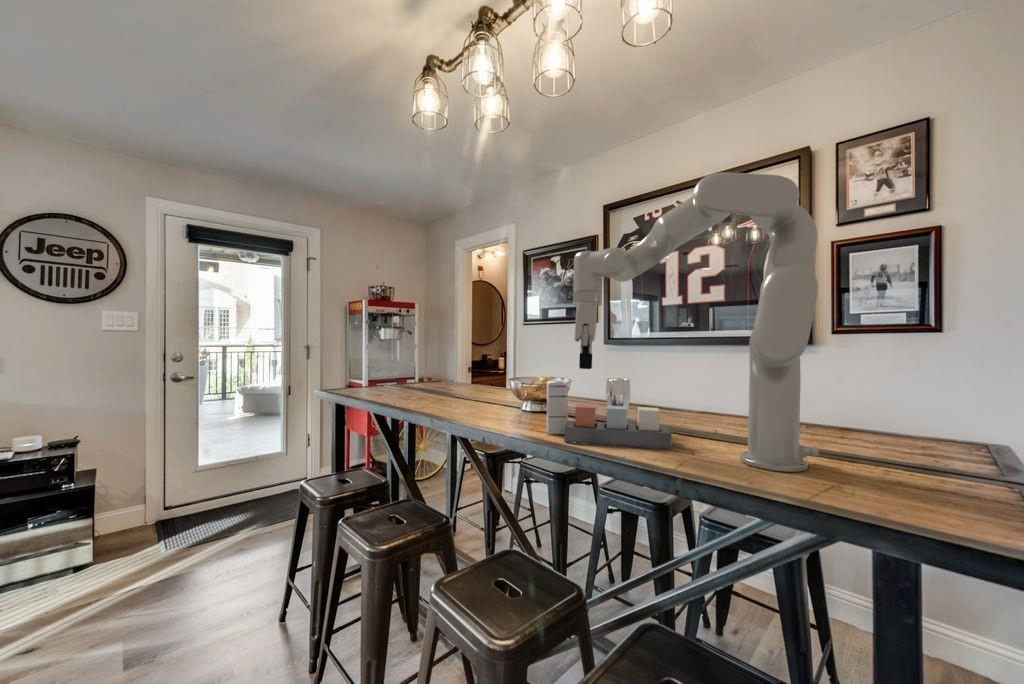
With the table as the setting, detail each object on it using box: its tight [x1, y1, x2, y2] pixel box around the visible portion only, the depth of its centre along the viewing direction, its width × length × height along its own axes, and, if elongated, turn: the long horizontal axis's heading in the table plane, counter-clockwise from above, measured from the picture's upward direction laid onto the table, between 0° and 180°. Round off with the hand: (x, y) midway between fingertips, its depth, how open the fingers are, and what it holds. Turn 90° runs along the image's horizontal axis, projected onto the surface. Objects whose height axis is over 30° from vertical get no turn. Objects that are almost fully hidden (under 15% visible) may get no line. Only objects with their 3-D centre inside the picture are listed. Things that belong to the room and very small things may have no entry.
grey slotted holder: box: [563, 420, 672, 451], centre depth 112 cm, size 9×26×4 cm, turn 77°
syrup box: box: [546, 380, 569, 435], centre depth 122 cm, size 6×6×14 cm
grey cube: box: [605, 405, 628, 429], centre depth 112 cm, size 5×5×5 cm
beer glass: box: [605, 377, 631, 415], centre depth 126 cm, size 7×7×15 cm
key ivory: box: [637, 406, 661, 431], centre depth 110 cm, size 5×5×5 cm
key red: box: [574, 403, 597, 427], centre depth 113 cm, size 5×5×5 cm
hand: (585, 368), depth 113 cm, fingers closed
